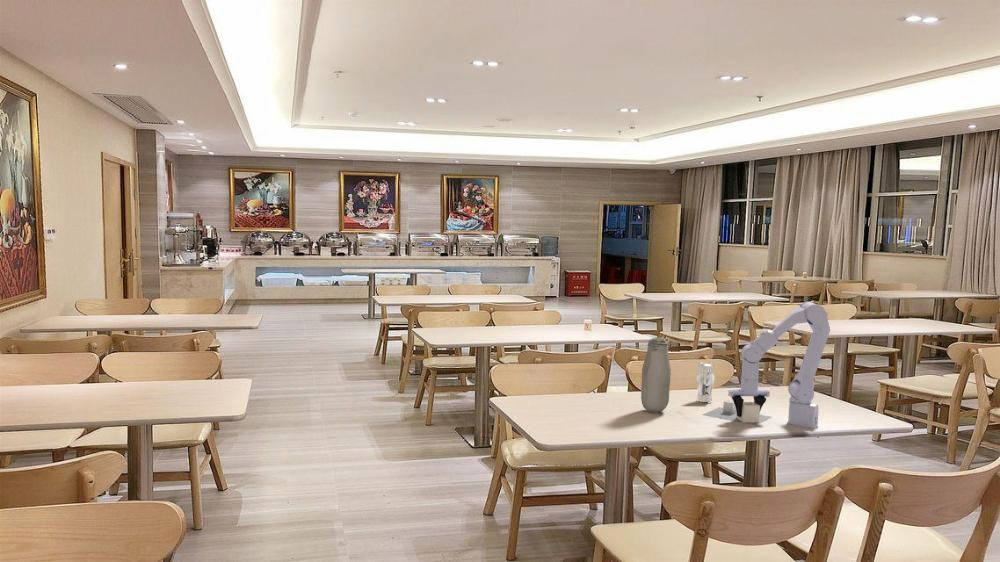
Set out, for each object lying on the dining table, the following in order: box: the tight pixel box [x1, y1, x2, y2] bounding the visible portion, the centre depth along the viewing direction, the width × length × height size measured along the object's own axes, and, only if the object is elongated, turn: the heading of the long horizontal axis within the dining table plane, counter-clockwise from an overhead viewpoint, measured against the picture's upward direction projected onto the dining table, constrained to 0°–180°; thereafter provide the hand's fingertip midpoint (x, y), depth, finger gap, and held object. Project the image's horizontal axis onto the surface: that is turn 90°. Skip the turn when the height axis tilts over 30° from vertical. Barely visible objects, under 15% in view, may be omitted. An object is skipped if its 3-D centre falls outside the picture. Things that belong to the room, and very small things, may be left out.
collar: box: [736, 401, 761, 423], centre depth 260 cm, size 6×6×6 cm
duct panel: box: [702, 406, 772, 426], centre depth 266 cm, size 20×16×1 cm
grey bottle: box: [640, 336, 672, 413], centre depth 272 cm, size 10×10×28 cm
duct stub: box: [722, 399, 736, 414], centre depth 270 cm, size 4×4×5 cm
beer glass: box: [696, 362, 716, 403], centre depth 292 cm, size 7×7×15 cm
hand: (747, 416), depth 260 cm, fingers closed on collar, 6 cm apart
